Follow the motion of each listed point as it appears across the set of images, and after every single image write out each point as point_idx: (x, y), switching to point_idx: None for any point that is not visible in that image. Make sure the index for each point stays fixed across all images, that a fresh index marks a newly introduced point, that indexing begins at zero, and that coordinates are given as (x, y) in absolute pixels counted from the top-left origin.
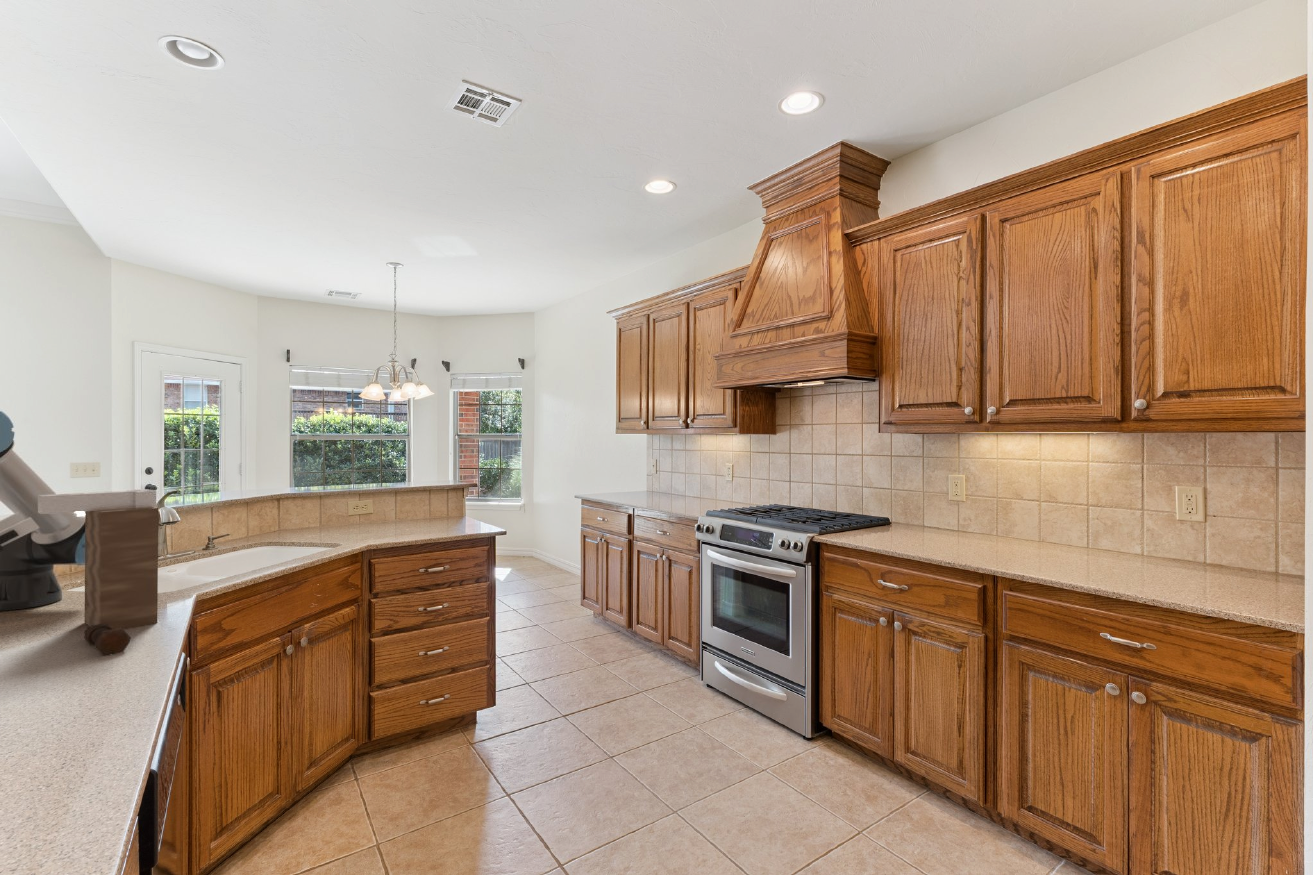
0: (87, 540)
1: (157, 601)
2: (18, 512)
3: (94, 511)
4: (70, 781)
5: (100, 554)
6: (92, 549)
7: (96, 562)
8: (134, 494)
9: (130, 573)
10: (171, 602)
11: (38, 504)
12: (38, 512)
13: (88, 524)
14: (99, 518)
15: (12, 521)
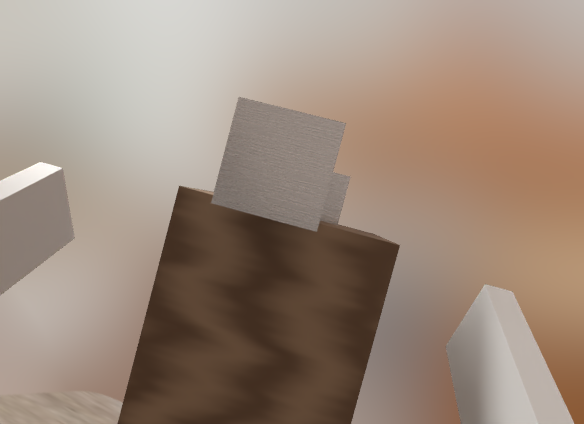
0: (180, 314)
1: None
2: (59, 167)
3: None
4: None
5: (350, 400)
6: (241, 360)
7: (286, 419)
8: (337, 182)
9: None
10: None
11: (239, 156)
12: (227, 204)
13: (206, 257)
14: (366, 264)
15: (20, 231)
